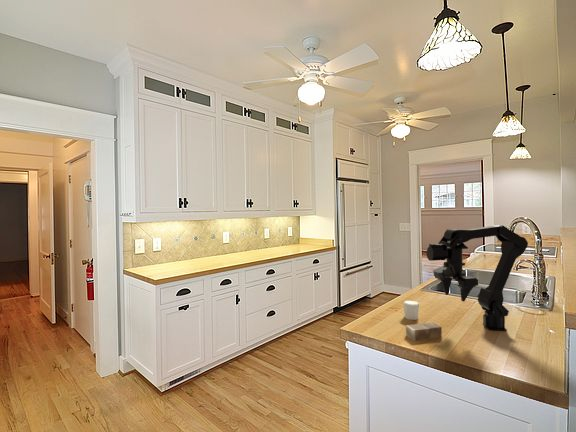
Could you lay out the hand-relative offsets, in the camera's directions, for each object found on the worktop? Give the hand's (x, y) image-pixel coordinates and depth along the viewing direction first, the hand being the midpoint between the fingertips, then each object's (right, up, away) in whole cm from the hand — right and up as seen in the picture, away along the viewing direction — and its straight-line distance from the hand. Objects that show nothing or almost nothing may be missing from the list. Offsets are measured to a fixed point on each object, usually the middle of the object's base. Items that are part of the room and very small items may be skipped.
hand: (454, 297), depth 125 cm
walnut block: (-9, -12, -4) cm, 15 cm away
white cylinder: (-12, -13, +15) cm, 23 cm away
